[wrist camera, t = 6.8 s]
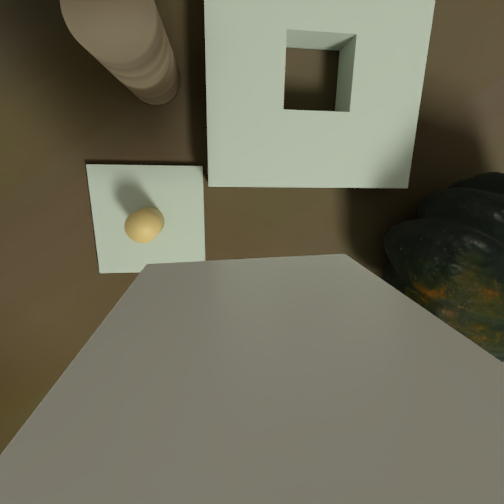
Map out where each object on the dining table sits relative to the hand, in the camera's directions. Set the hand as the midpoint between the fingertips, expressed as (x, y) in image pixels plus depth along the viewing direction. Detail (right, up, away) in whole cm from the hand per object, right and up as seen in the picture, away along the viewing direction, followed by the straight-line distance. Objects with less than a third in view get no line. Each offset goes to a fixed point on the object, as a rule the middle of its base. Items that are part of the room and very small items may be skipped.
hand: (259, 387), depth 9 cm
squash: (+18, +5, +20) cm, 27 cm away
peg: (-8, +18, +13) cm, 23 cm away
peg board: (+4, +18, +15) cm, 23 cm away
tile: (-9, +7, +16) cm, 20 cm away
